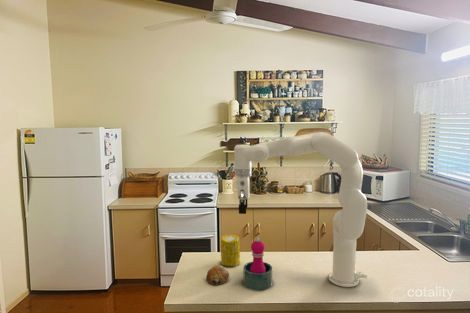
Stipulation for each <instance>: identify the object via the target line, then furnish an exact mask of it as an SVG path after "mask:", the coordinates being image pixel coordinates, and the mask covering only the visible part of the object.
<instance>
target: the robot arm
mask: <svg viewBox="0 0 470 313" xmlns="http://www.w3.org/2000/svg"><path fill="white" fill-rule="evenodd" d="M233 152H234V153H233V154H234V158H233V160H234V177H236V180H237V181H236V185H237V186H236V189H237V199H238V214H239V215H246V214H247V208H248V200H249V199H250V197H251V186H250V185H251V184H250V182H251V181H250V177H252V176H253V175H252V174H253V173H252V170H253V168H252V166H253V165H252V164H253V163H252V162H256V163H264V162H266V161H267V160H268V159H271V158H276V157H288V158H289V157H290V158H291V157H300V156H304V155H309V154H315V153H319V154H321V155H323V156H324V157H325V158H327V159H328V160H330V161H332V162H333V163H335V164H336V165H337V166H339V167H340V170H341V177H340V178H341V179H340V186H339V192H338V197H337V198H338V202H339V204H340V206H341V207H342V209H340V210H338V211H336V212H335V214H334V216H333V218H332V233H333V234H332V235H333V245H332V272H331V273H329V275H328V280H329V282H331V283H332V284H334V285H336V286H339V287H343V288H353V287H356V286H358V285H359V282H360V279H367V278H368V277H367V276H368V275H367V273H363V272H362V271H356V263H357V262H356V259H357V239H359V238H361V236H362V234H363V232H364V230H365V225H366V220H367V219H366V218H367V214H368V200H367V197H366V196H365V194H364V193H363V192H362V186H363V179H364V178H363V177H364V170H363V167H362V166H363V165H362V163H361V161H360V159H359V154H358V152H357V150H355V149H354V148H353V147H351V146H350V145H348V144H346V143H344V142H343V141H341V140H339V139H338V138H337V137H335V136H333V135H332V134H330V133H328V132H325V131H316V132H311V133H305V134H301V135H294V136H289V137H285V138H281V139H276V140H270V141H264V142H260V143H256V144H255V145H250V144H236V145H235V146H234V151H233Z"/></svg>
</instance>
